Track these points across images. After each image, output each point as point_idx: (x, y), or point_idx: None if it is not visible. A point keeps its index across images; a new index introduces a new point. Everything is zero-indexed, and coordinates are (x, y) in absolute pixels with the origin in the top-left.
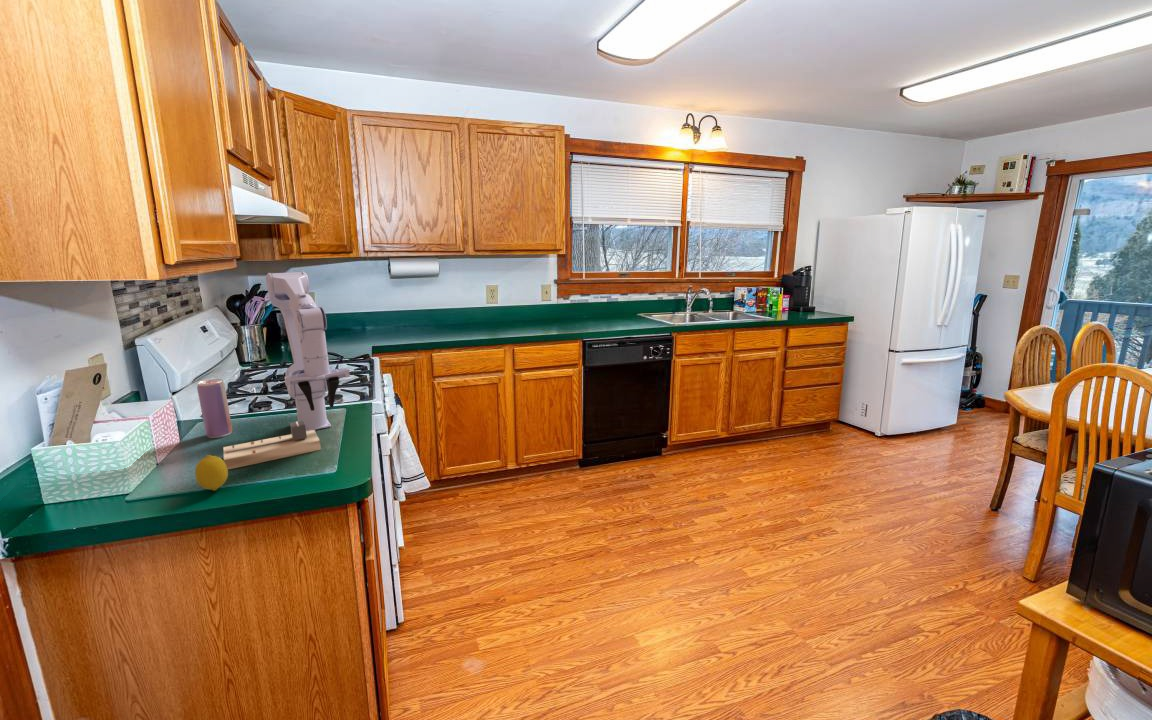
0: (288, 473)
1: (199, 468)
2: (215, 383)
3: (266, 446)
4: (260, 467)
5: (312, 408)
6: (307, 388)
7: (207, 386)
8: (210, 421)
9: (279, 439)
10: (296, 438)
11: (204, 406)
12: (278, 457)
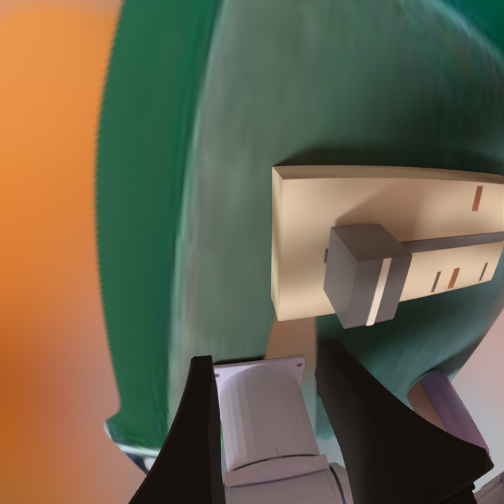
0: (403, 11)
1: None
2: None
3: (445, 227)
4: (456, 129)
5: (338, 348)
6: (449, 474)
7: None
8: (456, 395)
9: None
10: (372, 228)
11: (472, 420)
12: (413, 168)
